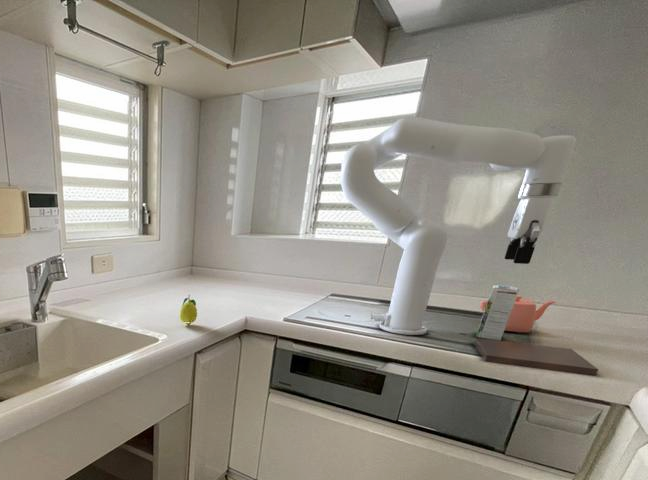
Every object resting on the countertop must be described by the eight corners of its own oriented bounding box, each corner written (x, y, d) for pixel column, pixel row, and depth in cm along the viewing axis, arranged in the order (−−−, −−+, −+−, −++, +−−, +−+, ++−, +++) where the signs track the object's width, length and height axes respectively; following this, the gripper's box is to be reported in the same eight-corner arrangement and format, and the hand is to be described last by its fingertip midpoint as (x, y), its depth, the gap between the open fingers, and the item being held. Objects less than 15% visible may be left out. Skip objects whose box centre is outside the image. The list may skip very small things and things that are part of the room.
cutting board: (484, 360, 99) (486, 355, 99) (473, 343, 112) (474, 337, 112) (595, 375, 90) (598, 369, 90) (569, 354, 103) (571, 348, 103)
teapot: (468, 321, 133) (478, 290, 129) (537, 327, 126) (550, 294, 122) (478, 330, 123) (489, 296, 119) (554, 337, 116) (568, 302, 112)
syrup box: (476, 333, 121) (492, 284, 115) (501, 336, 118) (519, 286, 112) (475, 337, 117) (491, 287, 111) (501, 341, 113) (519, 289, 108)
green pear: (181, 328, 127) (182, 297, 123) (175, 323, 132) (176, 293, 128) (201, 326, 129) (202, 295, 125) (194, 322, 134) (195, 292, 130)
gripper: (511, 193, 111) (491, 257, 117) (529, 191, 97) (506, 264, 103) (547, 192, 108) (525, 258, 114) (571, 190, 94) (544, 265, 100)
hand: (516, 261), depth 109 cm, fingers open, 9 cm apart
